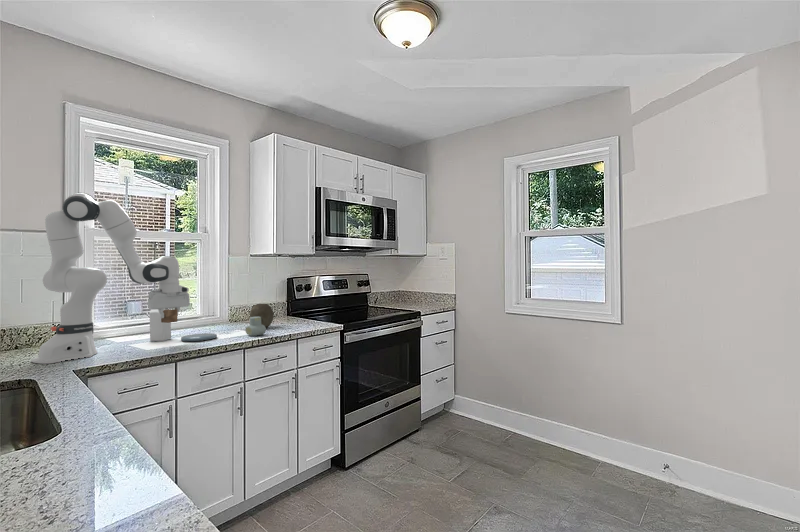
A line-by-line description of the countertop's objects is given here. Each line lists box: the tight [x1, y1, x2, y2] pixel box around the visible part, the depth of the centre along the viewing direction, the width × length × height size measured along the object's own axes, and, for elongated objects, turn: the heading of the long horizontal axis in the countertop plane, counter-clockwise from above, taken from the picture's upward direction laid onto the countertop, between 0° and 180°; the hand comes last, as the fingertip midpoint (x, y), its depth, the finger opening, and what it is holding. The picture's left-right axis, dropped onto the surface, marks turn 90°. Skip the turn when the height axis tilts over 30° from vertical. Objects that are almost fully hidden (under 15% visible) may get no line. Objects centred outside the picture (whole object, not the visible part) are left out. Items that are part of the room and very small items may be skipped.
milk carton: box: [148, 308, 172, 342], centre depth 223 cm, size 7×7×19 cm
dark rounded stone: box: [249, 303, 275, 329], centre depth 257 cm, size 14×14×15 cm
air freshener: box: [245, 316, 267, 337], centre depth 232 cm, size 11×8×10 cm
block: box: [161, 308, 178, 324], centre depth 209 cm, size 5×5×6 cm
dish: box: [180, 332, 217, 342], centre depth 223 cm, size 17×17×2 cm
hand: (169, 317), depth 209 cm, fingers closed on block, 5 cm apart
